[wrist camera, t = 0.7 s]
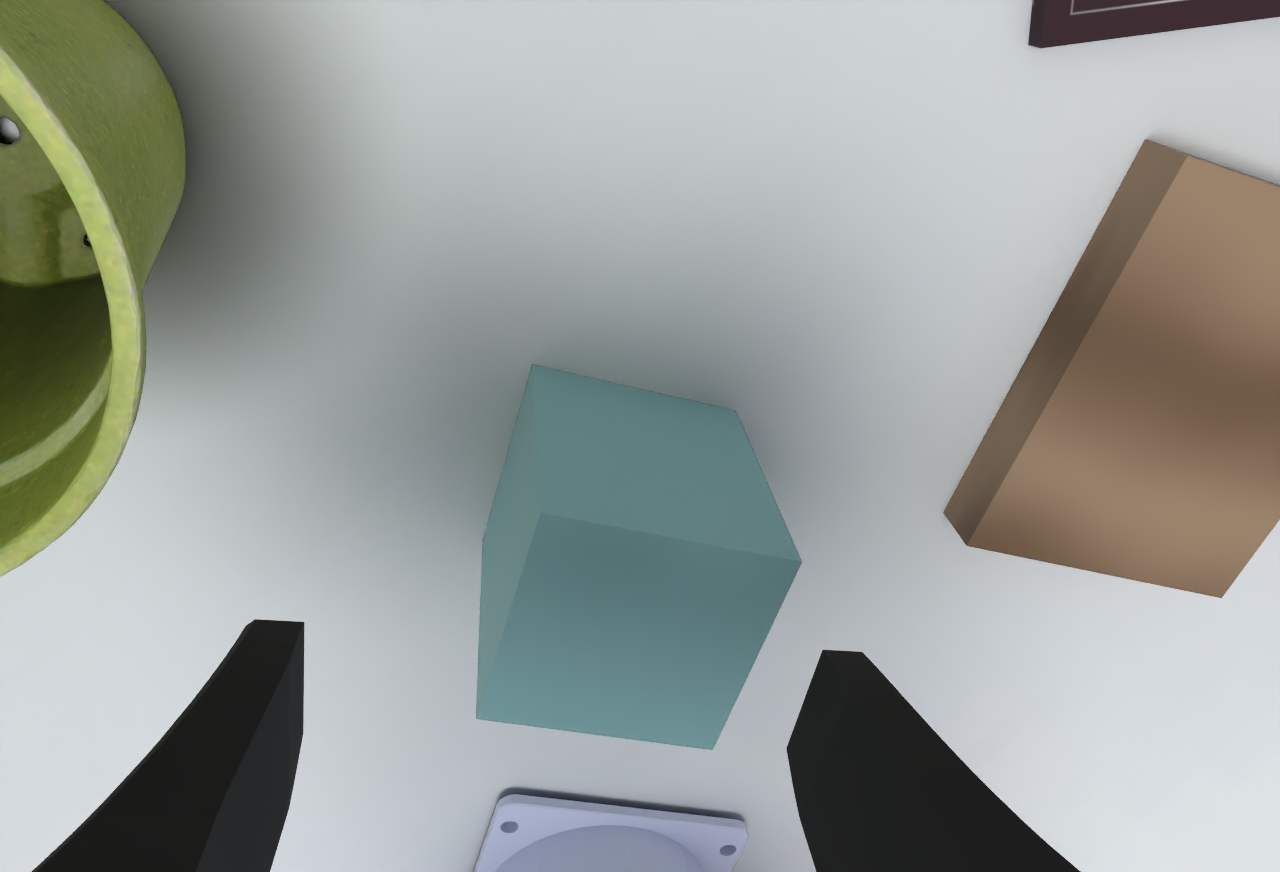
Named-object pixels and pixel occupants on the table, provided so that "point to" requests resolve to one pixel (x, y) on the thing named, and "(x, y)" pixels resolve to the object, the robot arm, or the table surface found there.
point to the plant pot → (75, 253)
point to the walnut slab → (1147, 392)
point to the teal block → (626, 565)
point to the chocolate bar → (1134, 17)
